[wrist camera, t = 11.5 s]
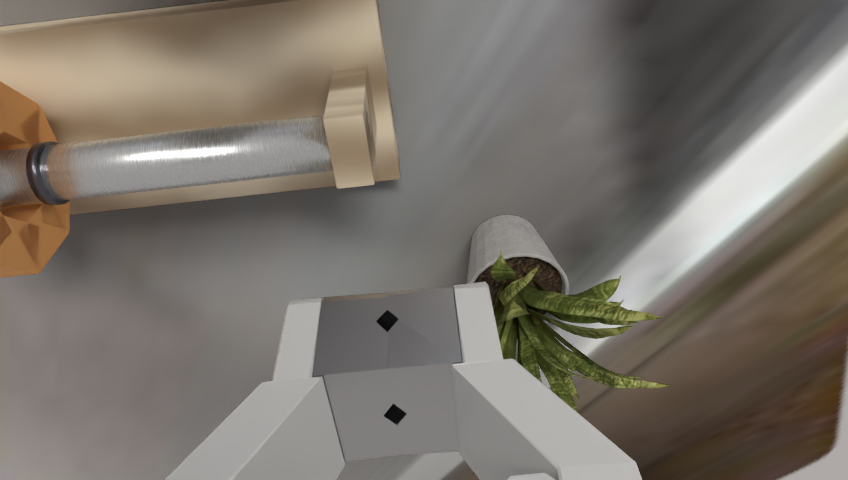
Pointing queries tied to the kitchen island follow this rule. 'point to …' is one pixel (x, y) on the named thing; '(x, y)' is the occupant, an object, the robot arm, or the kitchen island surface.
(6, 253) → the orange faceted ring
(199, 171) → the steel pipe
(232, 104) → the pipe stand
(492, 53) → the kitchen island surface
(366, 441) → the robot arm
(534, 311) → the house plant
